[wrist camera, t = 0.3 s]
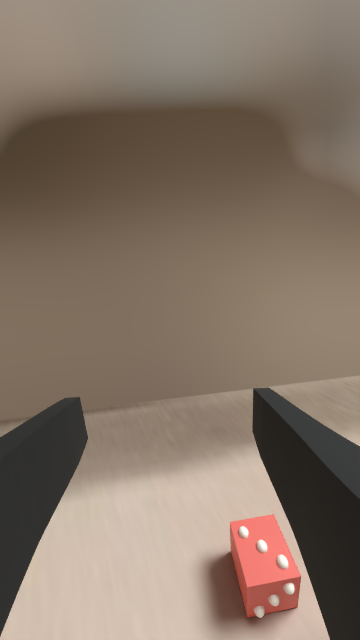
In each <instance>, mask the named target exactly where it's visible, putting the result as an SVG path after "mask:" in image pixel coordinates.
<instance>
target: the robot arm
mask: <svg viewBox="0 0 360 640" xmlns="http://www.w3.org/2000/svg"><path fill="white" fill-rule="evenodd" d="M253 434H254V437H255V441H256V444H257V447H258V450H259V453H260V456H261V459H262V461H263V464H264V466H265V468H266V471H267V473H268V475H269V477H270V480H271V482H272V484H273V487H274V489H275V491H276V493H277V496H278V498H279V500H280V503H281V505H282V507H283V509H284V512H285V514H286V516H287V518H288V521H289V523H290V526H291V528H292V531H293V533H294V536H295V538H296V541H297V543H298V546H299V549H300V552H301V555H302V558H303V561H304V563H305V566H306V569H307V572H308V575H309V578H310V581H311V583H312V586H313V589H314V592H315V595H316V598H317V601H318V604H319V607H320V610H321V613H322V616H323V619H324V622H325V625H326V628H327V631H328V634H329V637H330V640H360V446H358V445H356V444H354V443H353V442H351V441H349V440H347V439H346V438H344V437H342V436H341V435H339V434H337V433H336V432H334V431H333V430H331V429H329V428H328V427H326V426H324V425H323V424H321V423H320V422H318V421H317V420H315V419H314V418H312V417H311V416H309V415H308V414H306V413H305V412H303V411H302V410H300V409H299V408H297V407H296V406H295V405H293V404H292V403H290V402H289V401H287V400H286V399H285V398H283V397H282V396H280V395H279V394H277V393H276V392H274V391H273V390H271V389H270V388H254V389H253ZM87 440H88V436H87V431H86V426H85V421H84V416H83V411H82V406H81V402H80V397H75V398H64V399H62V400H60V401H59V402H57V403H55V404H54V405H52V406H50V407H48V408H47V409H45V410H44V411H42V412H40V413H39V414H37V415H36V416H34V417H33V418H31V419H29V420H28V421H26V422H25V423H23V424H21V425H20V426H18V427H17V428H15V429H13V430H12V431H10V432H8V433H7V434H5V435H3V436H2V437H0V636H1V633H2V631H3V628H4V626H5V623H6V621H7V618H8V616H9V613H10V610H11V608H12V605H13V603H14V600H15V598H16V595H17V593H18V590H19V588H20V586H21V583H22V581H23V578H24V576H25V574H26V571H27V569H28V567H29V564H30V562H31V559H32V557H33V555H34V552H35V550H36V548H37V546H38V543H39V541H40V539H41V537H42V535H43V533H44V531H45V529H46V527H47V525H48V523H49V521H50V519H51V517H52V515H53V513H54V511H55V509H56V507H57V506H58V504H59V502H60V500H61V498H62V496H63V494H64V492H65V490H66V488H67V486H68V484H69V482H70V480H71V478H72V476H73V474H74V472H75V470H76V468H77V466H78V464H79V462H80V459H81V456H82V454H83V451H84V448H85V445H86V443H87Z"/></svg>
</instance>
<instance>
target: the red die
mask: <svg viewBox="0 0 360 640" xmlns="http://www.w3.org/2000/svg"><path fill="white" fill-rule="evenodd" d="M230 540H231V553H232V557H233V562H234V566H235V570H236V574H237V578H238V582H239V586H240V590H241V594H242V598H243V602H244V606H245V610H246V614H247V618H249V617H253V616H257V617H259V618H261V617H263V616H264V614H268V613H272V612H277V611H282V610H287V609H291V608H296V607H297V606H298V598H299V590H300V581H301V575H300V573H299V571H298V568H297V566H296V564H295V561H294V559H293V557H292V555H291V552H290V550H289V548H288V546H287V543H286V541H285V539H284V537H283V534H282V532H281V530H280V528H279V525H278V523H277V521H276V518H275V516H274V514H273V515H267V516H262V517H256V518H251V519H245V520H240V521H234V522H230Z"/></svg>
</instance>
